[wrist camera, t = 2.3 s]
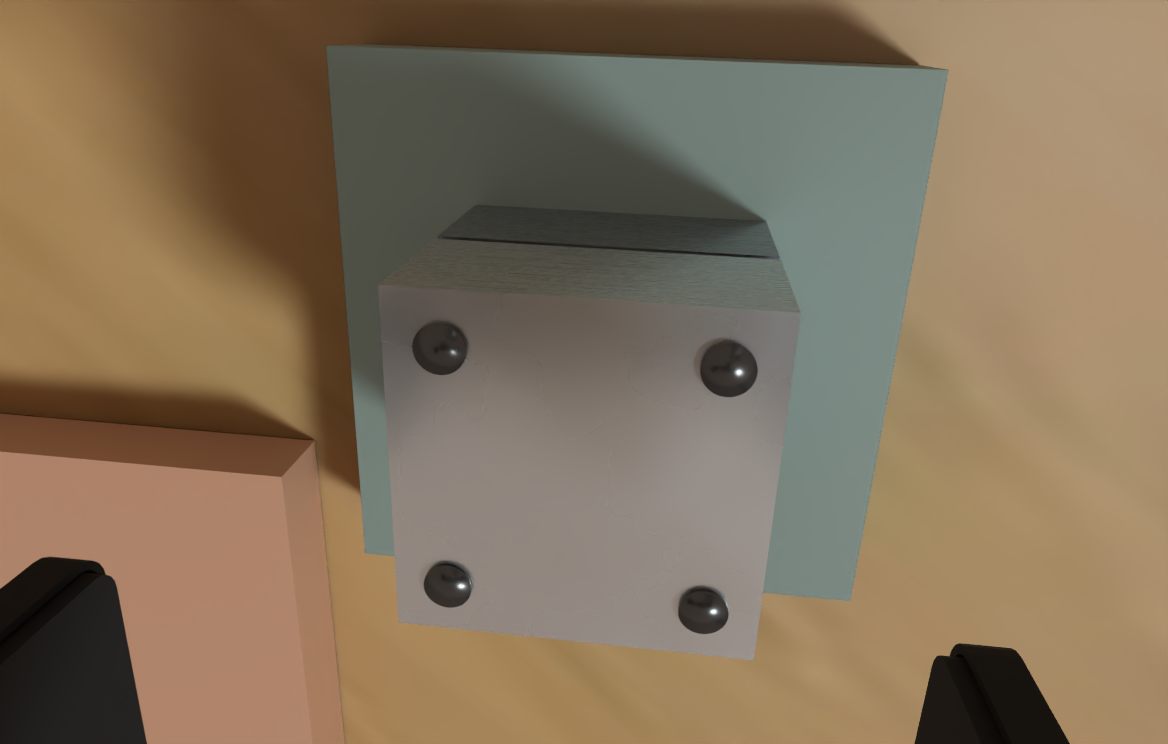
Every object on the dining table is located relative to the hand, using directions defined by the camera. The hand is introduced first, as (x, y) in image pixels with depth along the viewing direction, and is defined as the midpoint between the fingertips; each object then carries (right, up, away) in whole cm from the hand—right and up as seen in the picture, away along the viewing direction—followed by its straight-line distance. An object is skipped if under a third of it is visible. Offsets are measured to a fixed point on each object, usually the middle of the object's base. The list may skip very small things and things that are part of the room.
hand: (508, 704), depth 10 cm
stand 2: (+2, +5, +11) cm, 12 cm away
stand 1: (-12, -3, +16) cm, 21 cm away
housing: (+2, +4, +9) cm, 10 cm away
